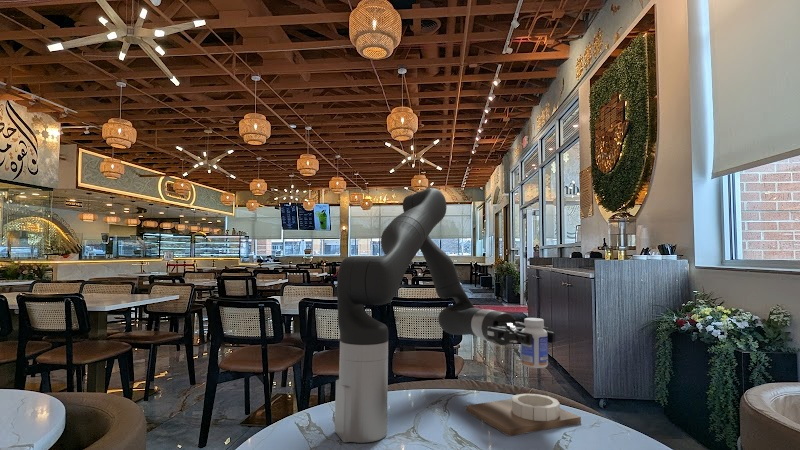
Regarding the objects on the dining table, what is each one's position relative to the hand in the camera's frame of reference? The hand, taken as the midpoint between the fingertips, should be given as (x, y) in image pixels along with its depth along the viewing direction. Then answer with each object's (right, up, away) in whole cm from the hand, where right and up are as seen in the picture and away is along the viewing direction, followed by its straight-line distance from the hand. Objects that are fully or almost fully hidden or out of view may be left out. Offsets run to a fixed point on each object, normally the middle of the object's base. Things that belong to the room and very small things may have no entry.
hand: (542, 338), depth 92 cm
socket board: (-4, -17, +2) cm, 17 cm away
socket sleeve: (-1, -16, +1) cm, 16 cm away
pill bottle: (-1, -6, +2) cm, 7 cm away
